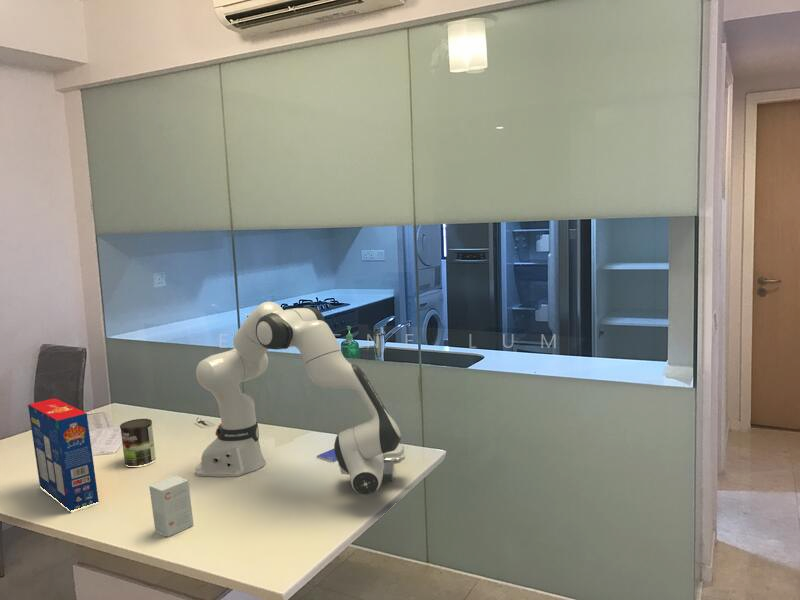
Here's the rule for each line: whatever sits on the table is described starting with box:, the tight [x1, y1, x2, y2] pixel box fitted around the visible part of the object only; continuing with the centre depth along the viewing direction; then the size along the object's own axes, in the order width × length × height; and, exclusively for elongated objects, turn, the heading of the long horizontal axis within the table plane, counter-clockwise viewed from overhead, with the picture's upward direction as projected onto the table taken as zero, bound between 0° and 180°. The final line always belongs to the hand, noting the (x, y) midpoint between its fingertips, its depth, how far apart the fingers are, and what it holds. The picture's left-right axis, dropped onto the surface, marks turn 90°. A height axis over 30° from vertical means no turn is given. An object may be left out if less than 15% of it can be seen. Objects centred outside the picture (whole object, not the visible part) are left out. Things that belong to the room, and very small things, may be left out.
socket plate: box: [381, 464, 394, 483], centre depth 211 cm, size 12×16×3 cm
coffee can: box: [119, 418, 157, 466], centre depth 234 cm, size 10×10×14 cm
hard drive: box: [316, 448, 338, 464], centre depth 229 cm, size 2×8×12 cm
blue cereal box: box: [27, 398, 100, 511], centre depth 207 cm, size 28×8×28 cm, turn 44°
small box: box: [149, 475, 194, 538], centre depth 181 cm, size 8×6×13 cm
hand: (372, 445), depth 211 cm, fingers open, 8 cm apart
